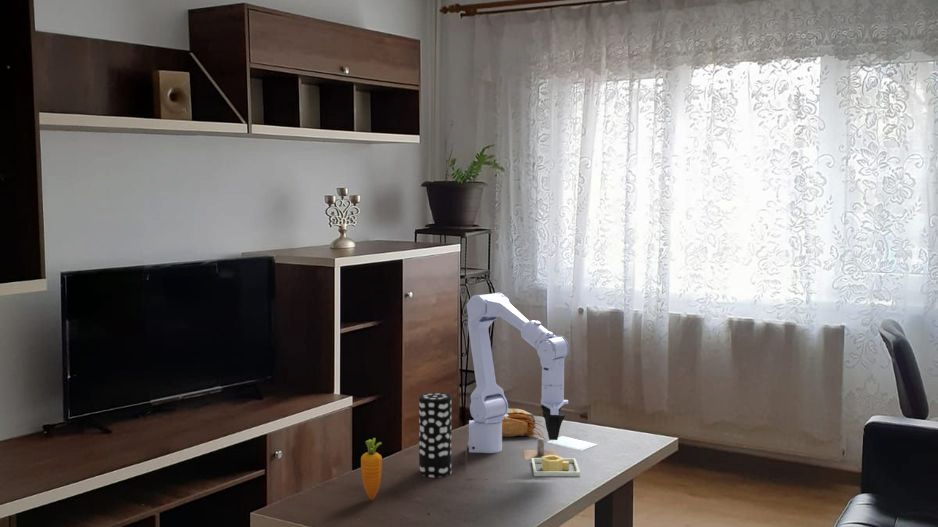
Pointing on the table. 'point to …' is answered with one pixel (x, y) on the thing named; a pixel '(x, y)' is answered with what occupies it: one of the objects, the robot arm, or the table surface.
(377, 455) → the carrot
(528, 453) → the tan square peg base
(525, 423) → the nautilus
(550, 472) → the tray
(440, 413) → the spotted tube
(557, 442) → the hard drive
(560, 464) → the ring
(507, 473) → the table surface
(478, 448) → the robot arm
